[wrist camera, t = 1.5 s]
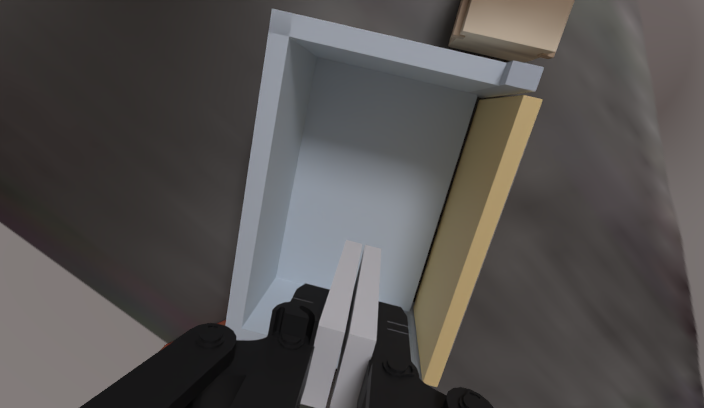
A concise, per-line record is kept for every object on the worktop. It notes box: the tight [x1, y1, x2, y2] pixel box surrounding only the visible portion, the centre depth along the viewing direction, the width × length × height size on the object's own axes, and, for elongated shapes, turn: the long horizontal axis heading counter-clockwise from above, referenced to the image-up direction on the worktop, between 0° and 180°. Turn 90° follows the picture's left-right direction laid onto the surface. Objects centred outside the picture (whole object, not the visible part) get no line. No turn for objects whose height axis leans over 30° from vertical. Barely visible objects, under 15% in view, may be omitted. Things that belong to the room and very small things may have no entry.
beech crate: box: [448, 0, 574, 63], centre depth 24 cm, size 6×7×6 cm
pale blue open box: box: [225, 9, 544, 380], centre depth 26 cm, size 22×15×11 cm
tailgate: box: [413, 95, 543, 387], centre depth 25 cm, size 19×1×10 cm, turn 167°
